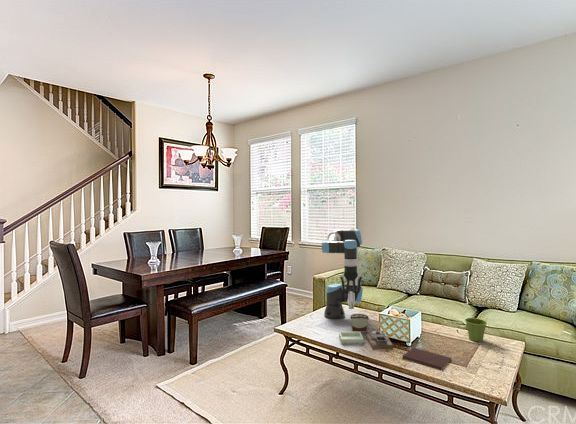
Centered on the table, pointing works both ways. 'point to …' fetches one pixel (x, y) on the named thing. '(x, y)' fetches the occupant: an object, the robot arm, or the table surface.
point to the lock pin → (351, 300)
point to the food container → (359, 322)
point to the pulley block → (378, 340)
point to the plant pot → (475, 328)
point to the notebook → (426, 358)
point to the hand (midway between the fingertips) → (351, 303)
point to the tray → (351, 338)
